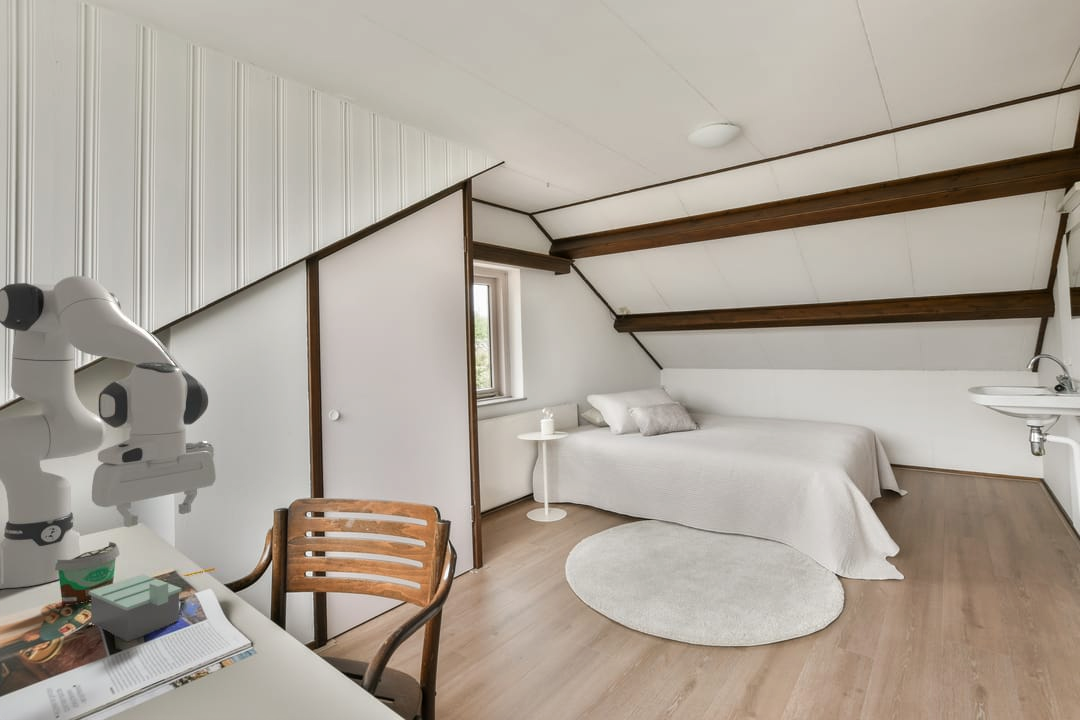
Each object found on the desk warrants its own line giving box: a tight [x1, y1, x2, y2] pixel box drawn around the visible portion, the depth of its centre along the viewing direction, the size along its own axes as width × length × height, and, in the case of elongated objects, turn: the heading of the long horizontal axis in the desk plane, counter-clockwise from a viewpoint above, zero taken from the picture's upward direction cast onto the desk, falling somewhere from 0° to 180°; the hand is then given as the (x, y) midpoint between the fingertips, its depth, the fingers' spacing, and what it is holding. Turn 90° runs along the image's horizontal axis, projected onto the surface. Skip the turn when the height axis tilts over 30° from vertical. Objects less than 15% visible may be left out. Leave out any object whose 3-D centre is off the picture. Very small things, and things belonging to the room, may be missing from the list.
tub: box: [90, 592, 180, 642], centre depth 108 cm, size 14×9×6 cm, turn 62°
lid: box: [89, 573, 183, 611], centre depth 107 cm, size 17×10×4 cm, turn 62°
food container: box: [55, 541, 120, 605], centre depth 120 cm, size 12×6×10 cm, turn 168°
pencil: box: [181, 567, 216, 577], centre depth 129 cm, size 1×18×1 cm, turn 136°
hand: (158, 519), depth 104 cm, fingers open, 8 cm apart
